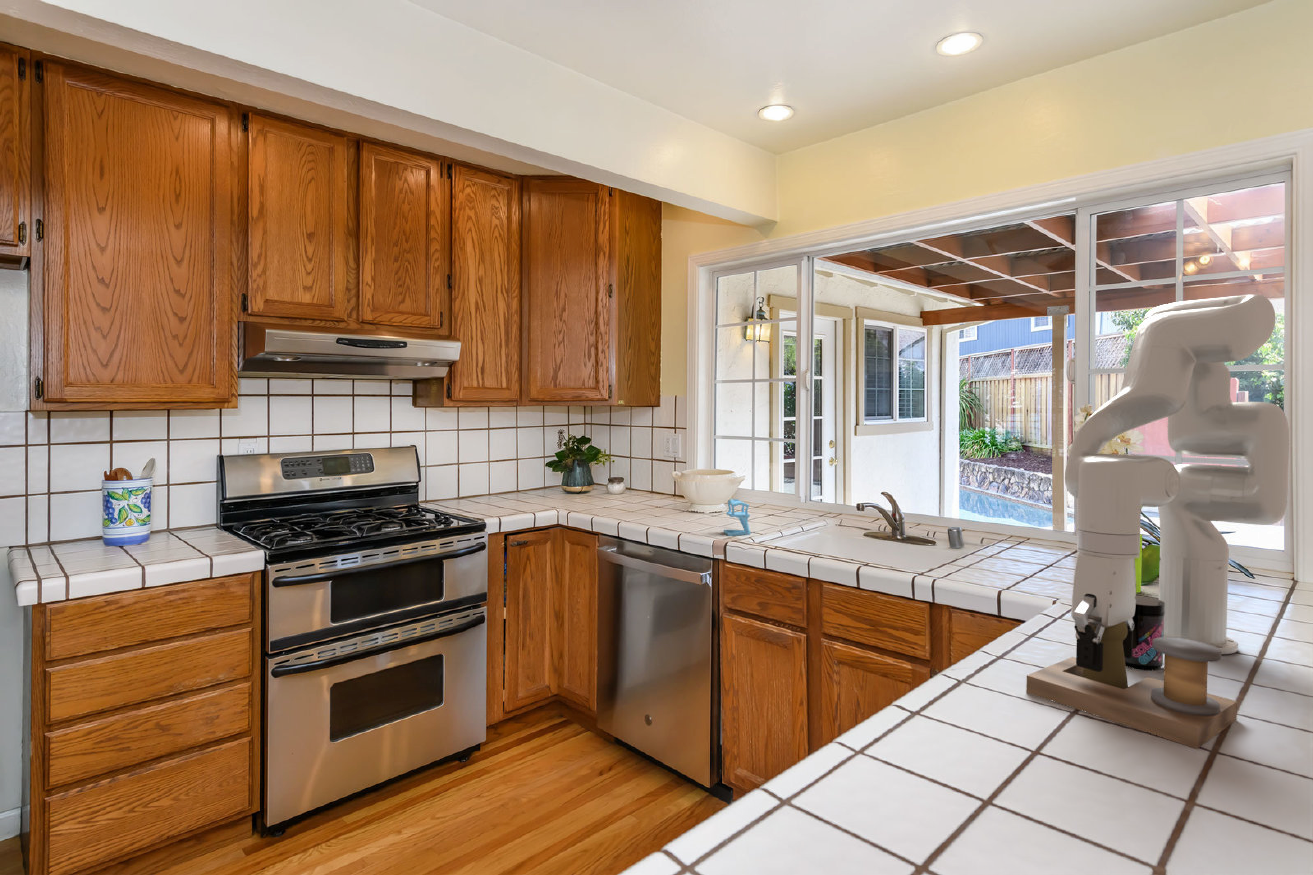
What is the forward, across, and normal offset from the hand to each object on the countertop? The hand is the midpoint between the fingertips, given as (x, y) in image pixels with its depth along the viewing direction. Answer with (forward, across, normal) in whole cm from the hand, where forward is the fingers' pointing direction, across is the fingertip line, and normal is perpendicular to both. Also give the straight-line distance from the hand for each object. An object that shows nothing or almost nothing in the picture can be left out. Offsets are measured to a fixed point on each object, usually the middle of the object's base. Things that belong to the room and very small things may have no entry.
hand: (1104, 661), depth 98 cm
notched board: (+4, +3, +4) cm, 7 cm away
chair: (+4, -46, -131) cm, 139 cm away
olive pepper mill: (+4, 0, 0) cm, 4 cm away
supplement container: (+4, -17, -2) cm, 18 cm away
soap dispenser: (+4, -72, -24) cm, 76 cm away
